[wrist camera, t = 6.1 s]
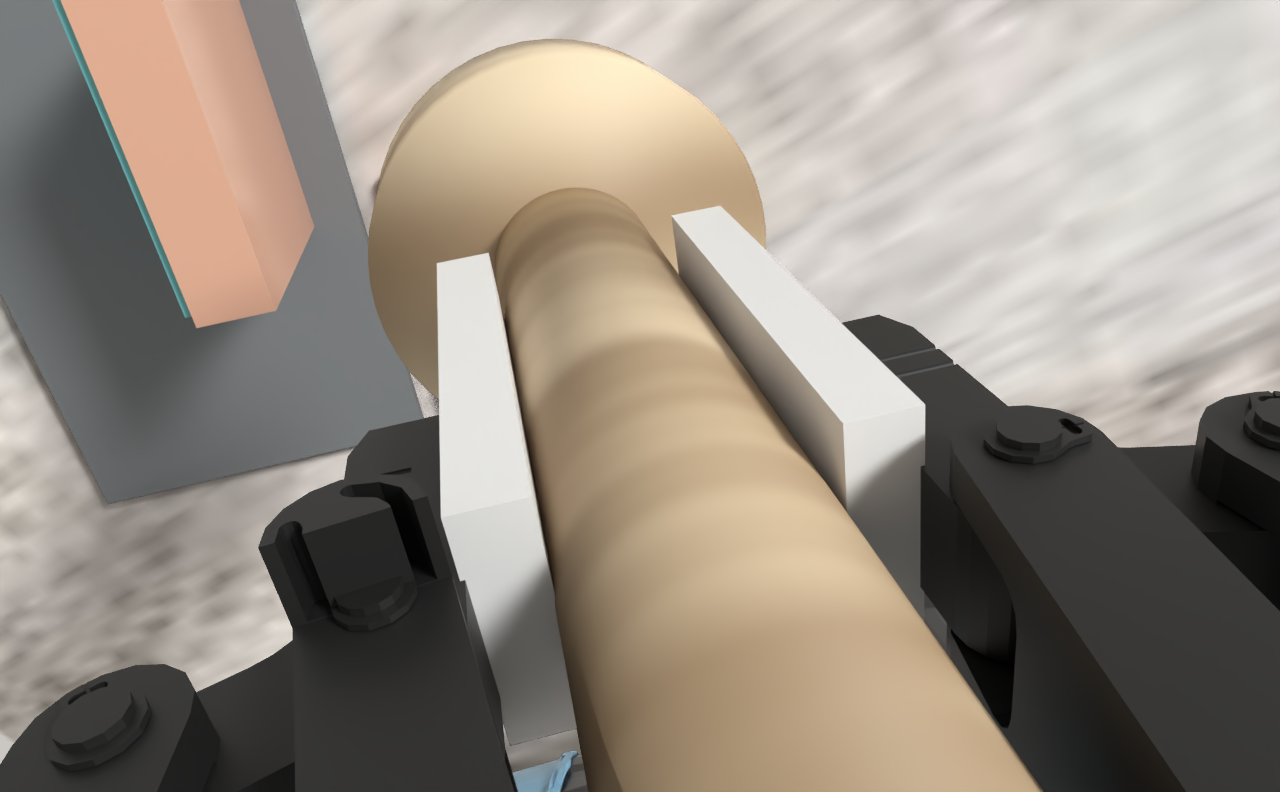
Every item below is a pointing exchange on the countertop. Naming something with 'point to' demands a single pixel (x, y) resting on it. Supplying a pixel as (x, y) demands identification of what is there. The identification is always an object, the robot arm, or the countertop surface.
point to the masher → (663, 447)
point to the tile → (196, 146)
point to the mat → (144, 298)
